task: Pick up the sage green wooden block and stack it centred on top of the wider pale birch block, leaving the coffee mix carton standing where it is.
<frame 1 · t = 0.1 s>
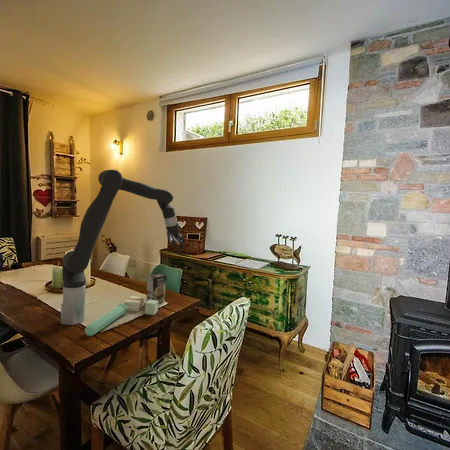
hand: (178, 248, 163), 31 cm above the table, tool tilted 20°, fingers open, 8 cm apart
sage block: (151, 312, 142), on the table
coffee box: (155, 302, 157), on the table
birch base: (134, 308, 146), on the table
container: (106, 325, 126), on the table
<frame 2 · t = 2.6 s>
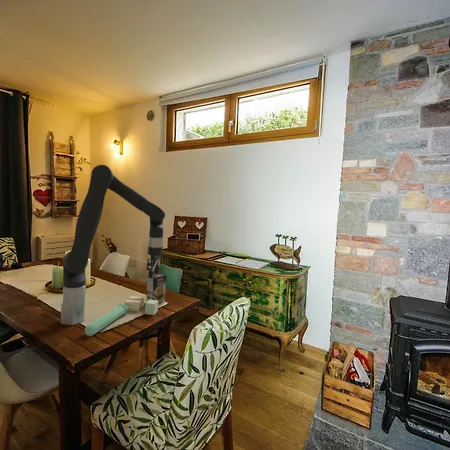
hand: (153, 275, 140), 20 cm above the table, tool pointing down, fingers open, 8 cm apart
nothing on the table moved.
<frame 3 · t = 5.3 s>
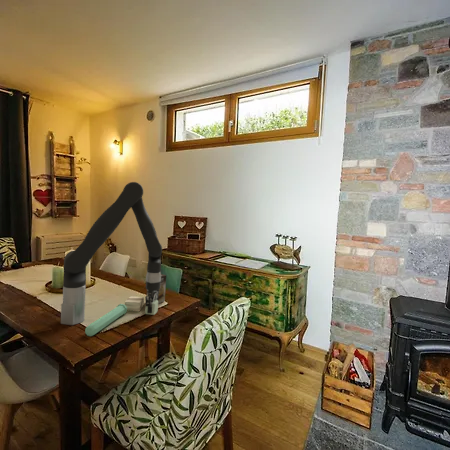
hand: (151, 310, 142), 1 cm above the table, tool pointing down, fingers closed on sage block, 5 cm apart
sage block: (151, 312, 142), on the table, touching gripper
everything else where it was.
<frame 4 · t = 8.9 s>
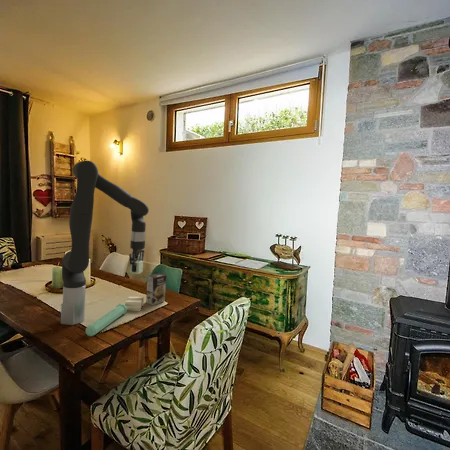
hand: (136, 270, 144), 21 cm above the table, tool pointing down, fingers closed on sage block, 5 cm apart
sage block: (136, 272, 144), point 20 cm above the table, touching gripper
everything else where it was.
when the fingers open (7 cm above the table, at t = 12.2 s): sage block drops 2 cm, point 5 cm above the table.
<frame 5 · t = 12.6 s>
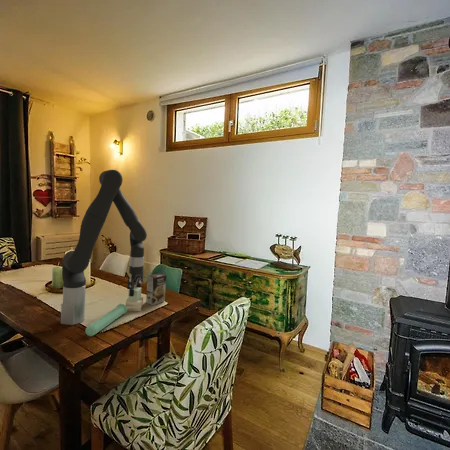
hand: (135, 293, 145), 8 cm above the table, tool pointing down, fingers open, 8 cm apart
sage block: (134, 299, 146), point 5 cm above the table
everything else where it was.
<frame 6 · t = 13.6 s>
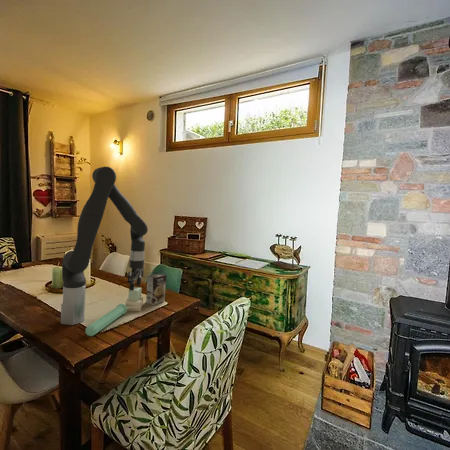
hand: (135, 287, 145), 11 cm above the table, tool pointing down, fingers open, 8 cm apart
nothing on the table moved.
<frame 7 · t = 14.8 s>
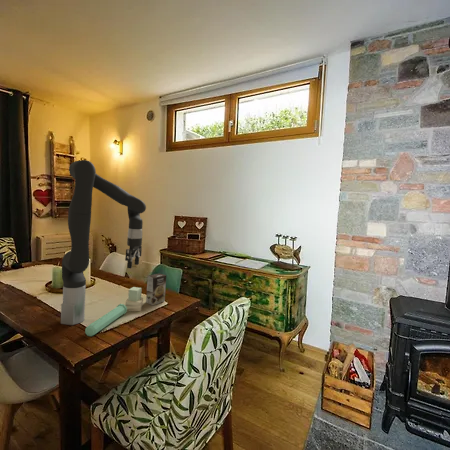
hand: (133, 266, 145), 23 cm above the table, tool pointing down, fingers open, 8 cm apart
sage block: (134, 299, 146), point 5 cm above the table, touching birch base
birch base: (134, 308, 146), on the table, touching sage block
everything else where it was.
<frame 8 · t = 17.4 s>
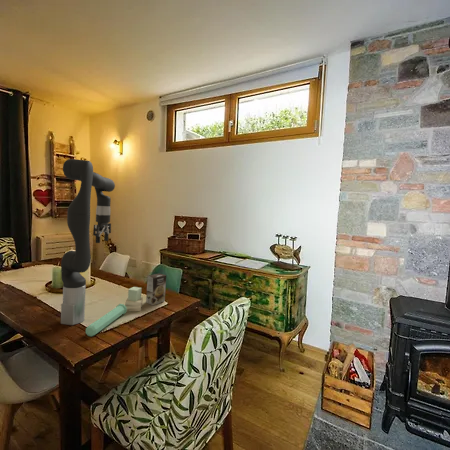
hand: (102, 241, 154), 33 cm above the table, tool pointing down, fingers open, 8 cm apart
sage block: (134, 299, 146), point 5 cm above the table
birch base: (133, 308, 146), on the table
everything else where it was.
at the end: sage block 0.3 cm off-centre on the birch base, point 5.0 cm above the birch base's base; sage block tilted 0°; the gripper is holding nothing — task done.
